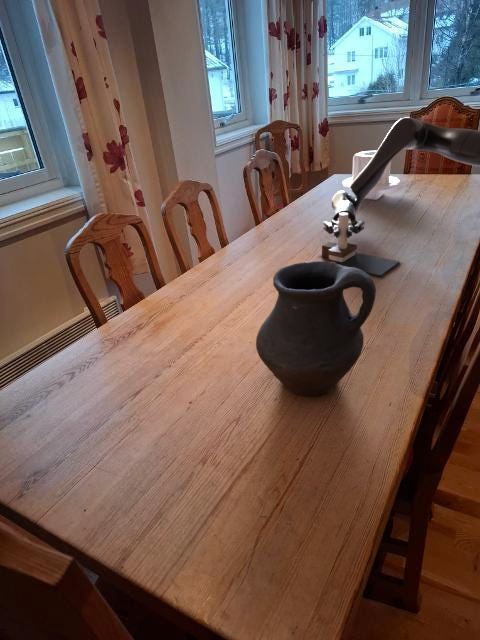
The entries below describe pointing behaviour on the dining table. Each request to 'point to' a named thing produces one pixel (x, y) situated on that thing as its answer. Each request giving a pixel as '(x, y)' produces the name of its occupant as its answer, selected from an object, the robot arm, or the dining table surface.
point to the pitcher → (314, 326)
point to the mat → (370, 264)
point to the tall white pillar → (342, 242)
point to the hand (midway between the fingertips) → (342, 234)
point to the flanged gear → (384, 183)
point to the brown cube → (327, 248)
